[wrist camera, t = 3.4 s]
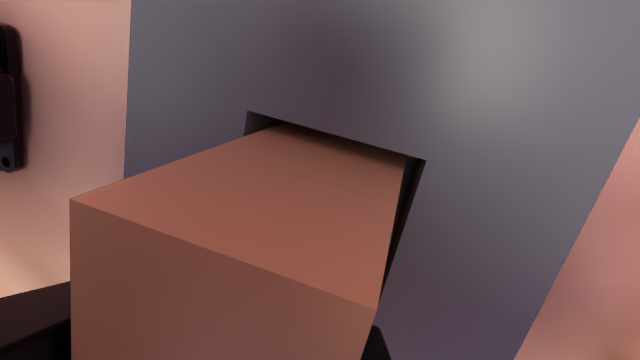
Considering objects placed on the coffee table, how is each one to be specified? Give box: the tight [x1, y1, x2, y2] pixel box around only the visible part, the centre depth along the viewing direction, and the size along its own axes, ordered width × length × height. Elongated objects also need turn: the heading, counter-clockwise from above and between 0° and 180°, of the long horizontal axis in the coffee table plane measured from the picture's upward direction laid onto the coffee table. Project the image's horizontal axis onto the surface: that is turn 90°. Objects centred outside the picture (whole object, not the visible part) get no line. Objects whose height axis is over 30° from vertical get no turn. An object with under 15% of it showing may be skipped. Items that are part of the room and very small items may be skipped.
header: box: [124, 0, 640, 360], centre depth 10 cm, size 11×24×4 cm, turn 167°
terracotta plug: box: [70, 121, 406, 360], centre depth 9 cm, size 4×6×8 cm, turn 167°
